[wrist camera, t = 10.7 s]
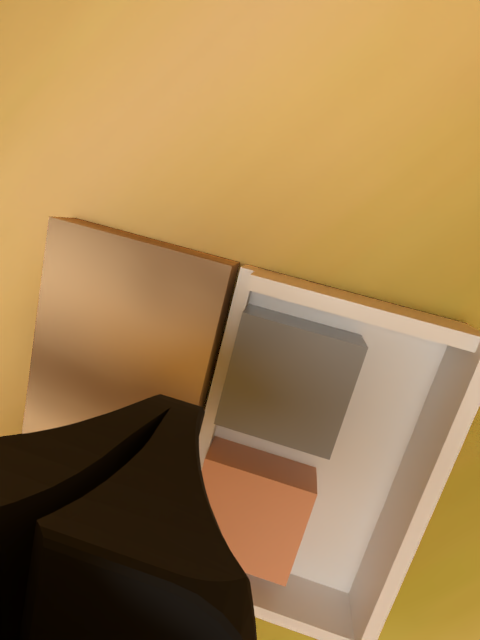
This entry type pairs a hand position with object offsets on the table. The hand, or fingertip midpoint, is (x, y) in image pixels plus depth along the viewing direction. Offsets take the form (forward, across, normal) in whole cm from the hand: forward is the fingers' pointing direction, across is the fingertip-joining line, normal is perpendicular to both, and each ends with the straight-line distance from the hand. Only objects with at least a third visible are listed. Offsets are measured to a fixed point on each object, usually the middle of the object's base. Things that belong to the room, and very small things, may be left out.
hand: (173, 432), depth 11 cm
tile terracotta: (+8, -3, +7) cm, 11 cm away
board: (+8, +4, +4) cm, 10 cm away
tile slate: (+8, -3, 0) cm, 8 cm away
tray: (+8, -5, +4) cm, 10 cm away
